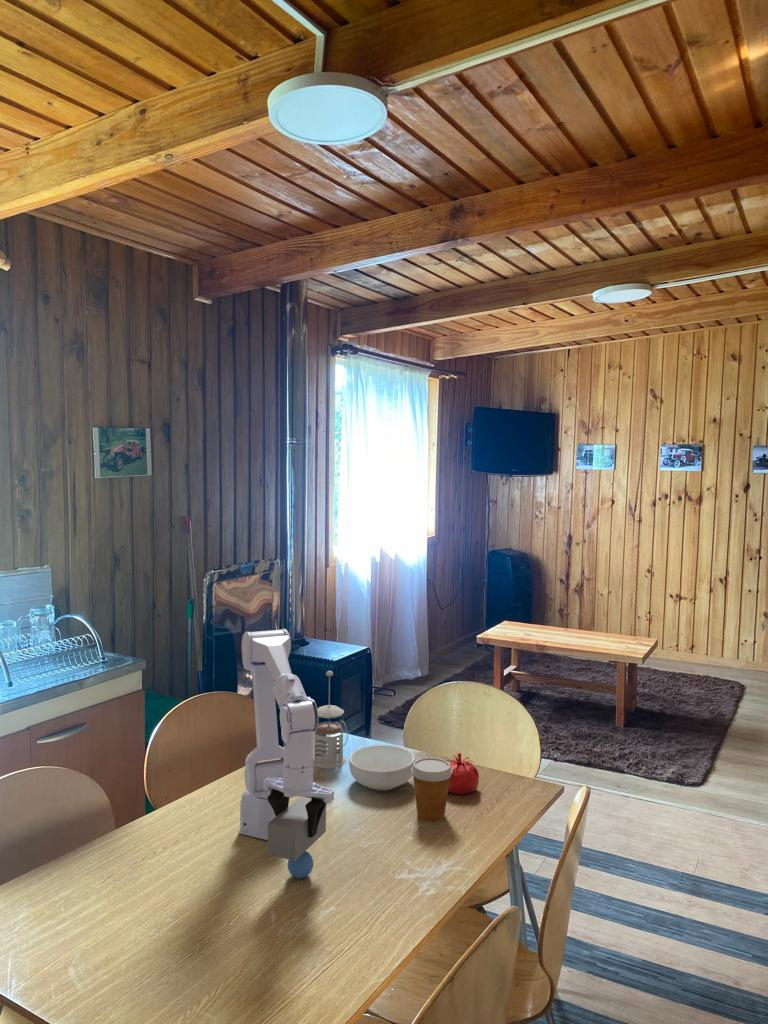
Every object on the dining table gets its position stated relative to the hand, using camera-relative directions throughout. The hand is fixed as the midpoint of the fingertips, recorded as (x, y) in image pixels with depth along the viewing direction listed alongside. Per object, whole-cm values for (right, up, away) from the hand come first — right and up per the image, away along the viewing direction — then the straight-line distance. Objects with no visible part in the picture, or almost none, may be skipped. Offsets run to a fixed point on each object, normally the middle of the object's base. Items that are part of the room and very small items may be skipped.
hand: (297, 831), depth 146 cm
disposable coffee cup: (+28, -8, +28) cm, 40 cm away
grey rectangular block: (0, -2, 0) cm, 2 cm away
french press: (+2, -6, +58) cm, 58 cm away
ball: (0, -7, +1) cm, 7 cm away
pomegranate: (+36, -8, +42) cm, 56 cm away
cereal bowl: (+16, -7, +45) cm, 48 cm away
